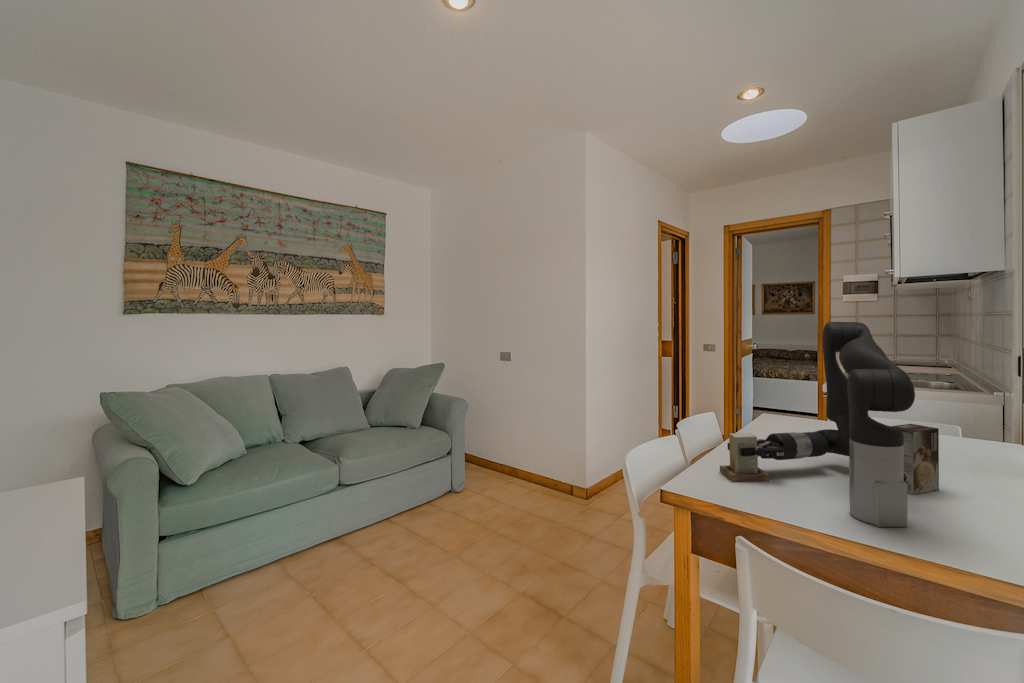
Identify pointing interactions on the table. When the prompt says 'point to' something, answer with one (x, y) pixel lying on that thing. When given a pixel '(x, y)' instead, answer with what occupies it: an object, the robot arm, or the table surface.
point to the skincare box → (736, 460)
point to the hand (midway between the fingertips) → (734, 449)
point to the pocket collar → (744, 475)
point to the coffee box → (920, 457)
